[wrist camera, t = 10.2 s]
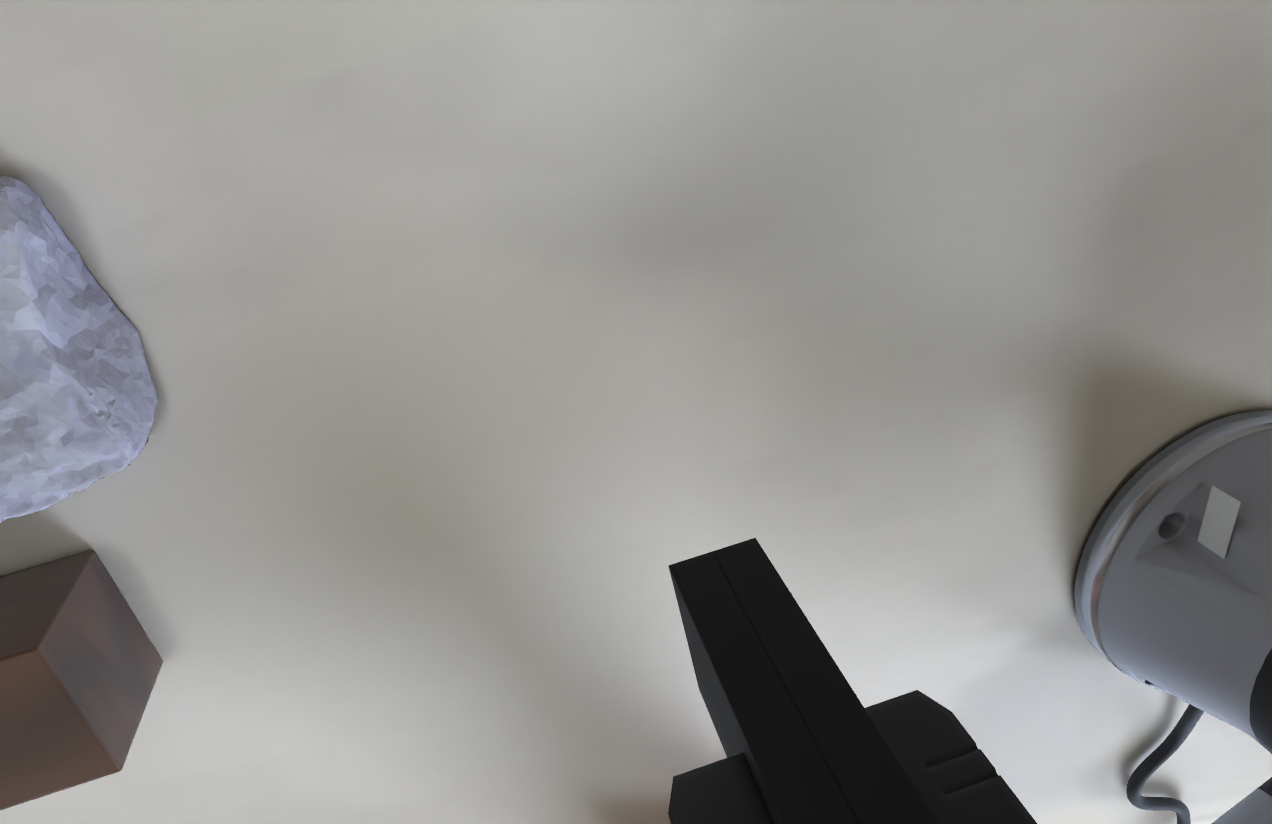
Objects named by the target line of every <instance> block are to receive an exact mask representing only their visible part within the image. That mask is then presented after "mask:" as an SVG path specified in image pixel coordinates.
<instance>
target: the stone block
mask: <svg viewBox="0 0 1272 824" xmlns="http://www.w3.org/2000/svg"><path fill="white" fill-rule="evenodd" d="M157 403H158V398H157V394H156V389H155V386H154V384H153V382H152V380H151V377H150V373H149V369H148V366H147V363H146V361H145V358H144V352H143V347H142V343H141V339H140V335H139V332H138V331H137V330H136V328H135V327H134V326H133V325H132V323H131V322H130V321H129V320H128V319H127V318H126V317H125V316H124V315H123V314H122V313H121V312H120V311H119V310H118V308H117V307H116V305H115V304H114V303H113V301H112V300H111V298H110V297H109V296H108V294H107V293H106V292H105V291H104V290H103V289H102V288H101V287H100V286H99V284H98V283H97V282H96V280H95V279H94V277H93V276H92V275H91V273H90V272H89V270H88V269H87V268H86V266H85V265H84V263H83V262H82V260H81V257H80V254H79V252H78V251H77V250H76V248H75V247H74V246H73V245H72V243H71V242H70V241H69V240H68V239H67V237H66V236H65V234H64V233H63V231H62V230H61V228H60V227H59V225H58V224H57V222H56V221H55V220H54V218H53V217H52V215H51V214H50V213H49V211H48V210H47V209H46V208H45V206H44V205H43V203H42V201H41V199H40V197H39V196H38V195H37V194H36V193H35V192H34V191H33V190H32V189H31V188H30V187H29V186H28V185H27V184H26V183H25V182H22V181H20V180H17V179H15V178H12V177H5V176H1V177H0V523H1V522H3V521H4V520H5V519H7V518H13V517H19V516H23V515H27V514H31V513H37V512H39V511H41V510H43V509H45V508H47V507H50V506H52V505H55V504H56V503H58V502H60V501H61V500H63V499H64V498H66V497H68V496H69V495H70V494H71V493H72V492H73V491H74V490H82V491H83V490H85V489H86V488H88V487H89V486H90V485H91V484H92V483H93V482H95V481H97V480H100V479H103V478H104V477H106V476H108V475H110V474H112V473H114V472H117V471H119V470H121V469H124V468H126V467H127V466H129V465H130V462H132V461H133V460H134V459H135V458H136V457H137V456H138V455H139V454H140V452H141V451H142V449H143V447H144V446H145V444H146V443H147V442H148V436H149V434H151V433H150V432H151V427H152V424H153V421H154V415H155V408H156V406H157Z"/></svg>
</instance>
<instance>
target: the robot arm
mask: <svg viewBox="0 0 1272 824" xmlns="http://www.w3.org/2000/svg"><path fill="white" fill-rule="evenodd" d="M669 569H670V573H671V577H672V581H673V585H674V589H675V593H676V597H677V601H678V605H679V610H680V614H681V618H682V622H683V626H684V630H685V634H686V638H687V642H688V646H689V650H690V654H691V658H692V662H693V666H694V670H695V674H696V678H697V682H698V686H699V689H700V692H701V694H702V697H703V699H704V702H705V704H706V707H707V709H708V711H709V714H710V716H711V719H712V721H713V724H714V726H715V729H716V731H717V733H718V736H719V738H720V741H721V743H722V746H723V748H724V751H725V753H726V755H727V758H726V759H723V760H720V761H717V762H714V763H711V764H709V765H706V766H703V767H700V768H697V769H694V770H691V771H688V772H685V773H682V774H680V775H677V776H674V777H673V783H672V790H671V797H670V804H669V811H668V815H669V818H670V821H671V824H1037V823H1036V822H1035V820H1034V819H1033V818H1032V816H1031V815H1030V814H1029V812H1028V811H1027V810H1026V808H1025V807H1024V806H1023V805H1022V803H1021V802H1020V801H1019V799H1018V798H1017V797H1016V795H1015V794H1014V793H1013V791H1012V790H1011V789H1010V788H1009V786H1008V785H1007V784H1006V782H1005V781H1004V780H1003V778H1002V777H1001V776H998V775H997V773H996V770H995V768H994V767H993V765H992V764H991V763H990V761H989V760H988V759H987V757H986V756H985V755H984V753H983V752H982V751H981V750H980V749H978V748H977V746H976V743H975V742H974V740H973V739H972V738H971V736H970V735H969V734H968V733H967V731H966V730H965V729H964V727H963V726H962V725H961V723H960V722H959V721H958V719H957V718H956V717H955V716H954V714H953V713H952V712H951V711H949V710H948V709H946V708H945V707H943V706H942V705H940V704H939V703H937V702H935V701H934V700H932V699H931V698H929V697H928V696H926V695H924V694H923V693H921V692H920V691H918V690H916V691H913V692H910V693H907V694H904V695H901V696H898V697H896V698H893V699H890V700H887V701H884V702H881V703H878V704H875V705H872V706H870V707H867V708H864V707H863V705H862V704H861V702H860V701H859V699H858V698H857V696H856V694H855V693H854V691H853V690H852V688H851V687H850V685H849V684H848V682H847V680H846V679H845V677H844V676H843V674H842V673H841V671H840V669H839V668H838V666H837V665H836V663H835V662H834V660H833V659H832V657H831V655H830V654H829V652H828V651H827V649H826V648H825V646H824V644H823V643H822V641H821V640H820V638H819V637H818V635H817V634H816V632H815V630H814V629H813V627H812V626H811V624H810V623H809V621H808V619H807V618H806V616H805V615H804V613H803V612H802V610H801V609H800V607H799V605H798V604H797V602H796V601H795V599H794V598H793V596H792V594H791V593H790V591H789V590H788V588H787V587H786V585H785V584H784V582H783V580H782V579H781V577H780V576H779V574H778V573H777V571H776V569H775V568H774V566H773V565H772V563H771V562H770V560H769V559H768V557H767V555H766V554H765V552H764V551H763V549H762V548H761V546H760V544H759V543H758V541H757V540H756V538H754V539H750V540H747V541H744V542H741V543H738V544H735V545H732V546H728V547H725V548H722V549H719V550H716V551H713V552H710V553H707V554H703V555H700V556H697V557H694V558H691V559H688V560H685V561H682V562H678V563H675V564H672V565H669ZM1074 594H1075V609H1076V615H1077V618H1078V622H1079V625H1080V627H1081V629H1082V631H1083V633H1084V635H1085V636H1086V638H1087V639H1088V641H1089V642H1090V643H1091V644H1092V645H1093V646H1094V647H1095V648H1096V649H1097V650H1098V651H1099V652H1100V653H1101V654H1102V655H1103V656H1105V657H1106V658H1107V659H1108V660H1109V661H1110V662H1111V663H1112V664H1113V665H1114V666H1115V667H1117V668H1118V669H1119V670H1120V671H1121V672H1123V673H1124V674H1126V675H1128V676H1130V677H1132V678H1133V679H1135V680H1136V681H1138V682H1141V683H1143V684H1145V685H1148V686H1150V687H1153V688H1155V689H1157V690H1161V691H1165V692H1168V693H1170V694H1172V695H1174V696H1176V697H1178V698H1179V699H1181V700H1183V701H1185V702H1187V703H1189V706H1188V707H1187V709H1186V711H1185V712H1184V714H1183V716H1182V717H1181V719H1180V720H1179V722H1178V723H1177V725H1176V726H1175V728H1174V729H1173V730H1172V732H1171V733H1170V735H1169V736H1168V737H1167V738H1166V739H1165V740H1164V742H1163V743H1162V744H1161V745H1160V746H1159V747H1158V748H1157V749H1156V750H1154V751H1153V752H1152V753H1151V754H1150V755H1149V756H1148V757H1147V758H1146V759H1145V760H1144V761H1143V762H1142V763H1141V764H1140V765H1139V766H1138V767H1137V769H1136V770H1135V771H1134V772H1133V774H1132V775H1131V777H1130V779H1129V781H1128V784H1127V797H1128V799H1129V801H1130V802H1131V803H1132V804H1133V805H1134V806H1136V807H1138V808H1141V809H1145V810H1169V811H1175V812H1176V815H1177V824H1190V813H1189V810H1188V808H1187V806H1186V805H1185V804H1184V803H1182V802H1181V801H1179V800H1176V799H1173V798H1167V797H1143V796H1141V795H1140V792H1141V789H1142V787H1143V785H1144V783H1145V782H1146V780H1147V779H1148V778H1149V777H1150V776H1151V775H1152V774H1153V773H1154V772H1155V771H1156V770H1157V769H1158V768H1159V767H1160V766H1161V765H1162V764H1163V763H1164V762H1165V761H1166V760H1167V759H1168V758H1169V757H1170V756H1171V755H1172V754H1173V753H1174V752H1175V751H1176V750H1177V749H1178V748H1179V747H1180V746H1181V744H1182V743H1183V742H1184V740H1185V739H1186V738H1187V736H1188V735H1189V734H1190V732H1191V731H1192V729H1193V728H1194V726H1195V725H1196V723H1197V722H1198V720H1199V719H1200V717H1201V716H1202V714H1203V713H1204V712H1206V713H1208V714H1210V715H1212V716H1214V717H1216V718H1218V719H1220V720H1222V721H1224V722H1226V723H1228V724H1230V725H1232V726H1234V727H1236V728H1238V729H1240V730H1242V731H1243V732H1245V733H1247V734H1248V735H1250V736H1251V737H1253V738H1254V739H1255V740H1256V741H1257V742H1259V743H1260V744H1261V745H1262V746H1263V747H1265V748H1266V749H1267V750H1268V751H1269V752H1270V753H1271V754H1272V411H1251V412H1245V413H1240V414H1235V415H1232V416H1228V417H1225V418H1222V419H1219V420H1216V421H1214V422H1211V423H1208V424H1206V425H1204V426H1202V427H1200V428H1198V429H1196V430H1194V431H1192V432H1190V433H1188V434H1187V435H1185V436H1183V437H1181V438H1180V439H1178V440H1177V441H1175V442H1174V443H1172V444H1170V445H1169V446H1167V447H1166V448H1165V449H1163V450H1162V451H1161V452H1160V453H1158V454H1157V455H1156V456H1154V457H1153V458H1152V459H1151V460H1150V461H1148V462H1147V463H1146V464H1145V465H1144V466H1143V467H1142V468H1141V469H1140V470H1139V471H1137V472H1136V473H1135V474H1134V475H1133V476H1132V477H1131V478H1130V479H1129V481H1128V482H1127V483H1126V484H1125V485H1124V486H1123V487H1122V488H1121V489H1120V491H1119V492H1118V493H1117V494H1116V496H1115V497H1114V498H1113V500H1112V501H1111V502H1110V503H1109V505H1108V506H1107V508H1106V509H1105V511H1104V512H1103V514H1102V515H1101V517H1100V518H1099V520H1098V522H1097V524H1096V525H1095V527H1094V529H1093V531H1092V533H1091V535H1090V537H1089V539H1088V541H1087V543H1086V546H1085V548H1084V551H1083V553H1082V556H1081V559H1080V563H1079V566H1078V570H1077V576H1076V581H1075V592H1074ZM1212 824H1272V777H1271V778H1270V779H1269V780H1268V781H1266V782H1265V783H1264V784H1263V785H1261V786H1260V787H1258V788H1257V789H1256V790H1255V791H1253V792H1252V793H1251V794H1249V795H1248V796H1247V797H1246V798H1244V799H1243V800H1242V801H1240V802H1239V803H1238V804H1237V805H1235V806H1234V807H1233V808H1231V809H1230V810H1229V811H1227V812H1226V813H1225V814H1224V815H1222V816H1221V817H1220V818H1218V819H1217V820H1216V821H1214V822H1213V823H1212Z"/></svg>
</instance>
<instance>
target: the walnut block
mask: <svg viewBox="0 0 1272 824" xmlns="http://www.w3.org/2000/svg"><path fill="white" fill-rule="evenodd" d="M162 663H163V661H162V659H161V657H160V656H159V654H158V652H157V651H156V649H155V647H154V646H153V644H152V643H151V641H150V639H149V638H148V636H147V635H146V633H145V631H144V630H143V628H142V626H141V625H140V623H139V622H138V620H137V618H136V617H135V615H134V614H133V612H132V610H131V609H130V607H129V606H128V604H127V602H126V601H125V599H124V597H123V596H122V594H121V593H120V591H119V589H118V588H117V586H116V585H115V583H114V581H113V580H112V578H111V576H110V575H109V573H108V572H107V570H106V568H105V567H104V565H103V564H102V562H101V560H100V559H99V557H98V555H97V554H96V552H95V551H94V550H91V551H87V552H84V553H81V554H77V555H74V556H71V557H67V558H64V559H60V560H57V561H54V562H50V563H47V564H44V565H40V566H37V567H33V568H30V569H27V570H23V571H20V572H17V573H13V574H10V575H6V576H3V577H0V810H3V809H6V808H9V807H12V806H15V805H18V804H21V803H24V802H27V801H30V800H33V799H37V798H40V797H43V796H46V795H49V794H52V793H55V792H58V791H61V790H64V789H67V788H70V787H73V786H76V785H79V784H82V783H86V782H89V781H92V780H95V779H98V778H101V777H104V776H107V775H110V774H113V773H116V772H119V771H121V770H122V768H123V765H124V763H125V760H126V757H127V755H128V752H129V749H130V747H131V744H132V741H133V739H134V736H135V734H136V731H137V728H138V726H139V723H140V720H141V718H142V715H143V713H144V710H145V707H146V705H147V702H148V699H149V697H150V694H151V692H152V689H153V686H154V684H155V681H156V678H157V676H158V673H159V671H160V668H161V665H162Z"/></svg>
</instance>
